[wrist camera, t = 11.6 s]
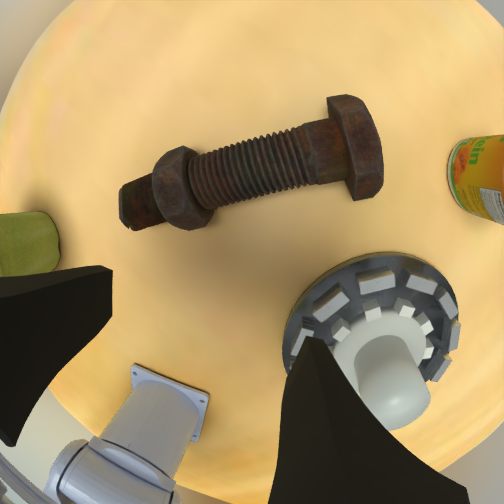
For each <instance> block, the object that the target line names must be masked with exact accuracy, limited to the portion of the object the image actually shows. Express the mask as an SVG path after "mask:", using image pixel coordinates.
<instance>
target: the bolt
mask: <svg viewBox="0 0 504 504" xmlns="http://www.w3.org/2000/svg"><path fill="white" fill-rule="evenodd" d="M326 99H327V106H328V114H329V118H327V119H322V120H317V121H313V122H308V123H304V124H303V125H302V126H298V127H297V128H296V129H295V128H294V127H293V128H292V129H291V131H289V130H288V129H286V130H285V132H284V133H283V132H282V131H279V133H278V135H277V134H276V133H275V132H273V134H272V137H271V136H270V135H269V134H267V136H266V138H264V137H263V136H262V135H261V136H260V138H259V140H258V139H257V138H256V137H254V139H253V141H252V140H251V139H248V140H247V142H245V141H244V140H243V141H242V142H241V144H240V143H239V142H237V143H236V145H233V144H231V145H230V147H228V146H225V147H224V149H223V148H219V149H218V151H217V150H213V152H208V153H207V154H205V153H204V154H202V155H199V154H198V153H197V152H195V151H194V150H192V149H190V148H188V147H185V146H181V147H178V148H175V149H173V150H170V151H168V152H167V153H165V154H164V155H163V156H162V157H161V158H160V159H159V160H158V162H157V163H156V165H155V167H154V169H153V173H150V174H148V175H146V176H143V177H141V178H139V179H136V180H134V181H132V182H129V183H127V184H124V185H123V186H122V188H121V189H120V190H119V219H120V220H121V222H122V223H123V224H124V225H125V226H126V227H127V228H128V229H129V227H130V228H131V229H132V230H133V231H139V230H142V229H145V228H147V227H151V226H154V225H158V224H160V223H164V222H167V221H168V222H169V223H170V224H171V225H173V226H175V227H178V228H180V229H184V230H188V231H190V230H194V229H198V228H202V227H205V226H206V225H207V224H208V222H209V221H210V219H211V218H212V216H213V214H214V210H215V208H217V207H218V206H220V207H222V206H223V205H228V204H229V203H231V204H233V203H235V201H236V202H240V201H241V200H243V201H245V200H246V199H251V198H252V197H254V198H257V197H258V195H260V196H263V195H264V193H265V194H270V191H271V192H272V193H275V192H276V190H278V191H279V192H281V191H282V188H283V189H284V190H288V187H289V188H291V189H294V185H295V186H296V187H297V188H299V187H300V184H302V185H303V186H306V183H308V184H309V185H313V184H319V185H321V184H326V183H331V182H336V181H341V180H345V182H346V185H347V187H348V189H349V192H350V194H351V196H352V199H353V201H358V200H363V199H368V198H373V197H374V196H375V195H376V194H377V193H378V192H379V191H380V189H381V188H382V186H383V182H384V164H383V154H382V146H381V141H380V137H379V135H378V132H377V129H376V127H375V124H374V122H373V119H372V117H371V115H370V113H369V111H368V109H367V107H366V106H365V104H364V102H363V101H362V100H361V99H359V98H357V97H355V96H352V95H347V94H344V95H337V96H331V97H327V98H326Z"/></svg>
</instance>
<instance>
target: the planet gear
mask: <svg viewBox="0 0 504 504" xmlns="http://www.w3.org/2000/svg"><path fill="white" fill-rule="evenodd" d="M361 304H362V309H363V313H361V314H360V315H358V316H356V317H355V318H353V319H352V320H351V321H349V322H348V321H346V320H345V319H343V318H342V317H340V318H339V319H338V320H337V321H336V322H335V324H334V325H333V326H332V327H331V330H332V337H333V338H335V341H334V343H333V346H328V348H329V350H330V351H331V353H332V355H333V356H334V358H335V360H336V361H337V363H338V365H339V366H340V368H341V370H342V371H343V373H344V374H345V376H346V378H347V379H348V381H349V382H350V384H351V385H352V387H353V388H354V390H355V391H356V393H357V394H358V395H359V397H360V398H361V399H362V401H363V402H364V403H365V405H366V406H367V407H368V409H369V410H370V411H371V412H372V414H373V415H374V416H375V417H376V418H377V419H378V420H379V422H380V423H381V424H382V425H383V426H384V427H385V428H386V429H387V430H388V431H391V430H395V429H399V428H401V427H404V426H406V425H408V424H410V423H411V422H413V421H414V420H416V419H417V418H418V417H419V416H421V415H422V414H423V412H424V411H425V410H426V409H427V407H428V405H429V403H430V399H431V396H430V392H429V390H428V388H427V386H426V383H425V381H424V379H423V377H422V375H421V373H420V371H419V369H418V366H419V364H420V363H421V361H422V359H427V358H431V355H432V352H433V349H434V346H433V344H432V343H431V341H430V340H429V338H426V336H425V335H427V334H428V333H430V332H431V331H432V330H434V329H433V327H432V325H431V322H430V320H429V319H428V318H427V316H426V315H425V314H424V312H422V313H421V314H419V315H418V316H417V317H414V316H413V313H414V311H415V307H414V306H413V305H412V303H411V302H410V301H409V300H406V299H402V298H399V297H398V298H397V300H396V302H395V304H394V306H393V307H380V306H379V304H378V302H377V301H376V299H372V300H369V301H366V302H363V303H361Z"/></svg>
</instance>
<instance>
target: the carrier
mask: <svg viewBox="0 0 504 504" xmlns="http://www.w3.org/2000/svg"><path fill="white" fill-rule="evenodd" d="M398 297H399V298H402V299H406V300H409V301H410V302H411V303H412V305H413V306H414V307H415V311H414V313H413V316H414V317H417V316H418V315H419V314H421V313H422V312H424V314H425V315H426V316H427V318H428V319H429V320H430V322H431V325H432V327H433V329H434V330H432V331H431V332H430V333H428V334H427V335H425V336H426V338H429V340H430V341H431V343H432V344H433V346H434V349H433V352H432V355H431V358H427V359H422V361H421V363H420V364H419V366H418V369H419V371H420V373H421V375H422V377H423V379H424V381H425V382H427V381H428V380H429V379H430V381H434V382H438V380H439V379H440V378H441V376H442V375H443V373H444V372H445V371H446V369H447V368H448V366H449V365H450V363H451V362H452V359H451V358H450V356H449V355H448V354H449V352H450V351H452V350H454V349H457V347H458V340H459V334H460V326H461V324H460V323H459V322H458V313H459V312H458V305H457V301H456V297H455V294H454V292H453V290H452V287H451V286H450V284H449V283H448V281H447V280H446V278H445V277H444V276H443V275H442V274H441V273H440V272H439V271H438V270H436V269H435V268H434V267H433V266H431V265H430V264H428V263H427V262H425V261H424V260H422V259H420V258H417V257H415V256H412V255H409V254H405V253H399V252H377V253H371V254H365V255H362V256H359V257H355V258H352V259H350V260H348V261H345V262H343V263H341V264H339V265H337V266H335V267H334V268H332V269H330V270H329V271H327V272H326V273H325V274H323V275H322V276H321V277H319V278H318V279H317V280H316V281H315V282H313V283H312V284H311V285H310V286H309V287H308V288H307V289H306V291H305V292H304V293H303V294H302V295H301V297H300V298H299V299H298V301H297V303H296V304H295V306H294V307H293V309H292V311H291V313H290V315H289V318H288V320H287V324H286V327H285V331H284V338H283V346H282V355H283V362H284V367H285V370H286V373H287V375H288V374H289V372H290V370H291V367H292V365H293V363H294V361H295V359H296V357H297V354H298V352H299V350H300V348H301V346H302V343H303V341H304V339H305V336H306V335H307V336H311V337H315V338H319V339H323V340H324V342H325V343H326V345H327V346H333V343H334V341H335V338H333V337H332V330H331V327H332V326H333V325H334V324H335V322H336V321H337V320H338V319H339V318H340V317H342V318H343V319H345V320H346V321H348V322H349V321H351V320H352V319H353V318H355V317H356V316H358V315H360V314H361V313H363V309H362V304H361V303H363V302H366V301H369V300H372V299H376V301H377V302H378V304H379V306H380V307H393V306H394V304H395V302H396V300H397V298H398Z"/></svg>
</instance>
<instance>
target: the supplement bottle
mask: <svg viewBox="0 0 504 504" xmlns="http://www.w3.org/2000/svg"><path fill="white" fill-rule="evenodd" d="M448 181H449V186H450V189H451V192H452V194H453V196H454V198H455V200H456V201H457V203H458V204H459V205H460V206H461V207H462V208H463V209H464V210H466V211H467V212H469V213H471V214H474V215H477V216H480V217H482V218H485V219H488V220H491V221H494V222H497V223H499V224H502V225H504V135H494V136H485V137H475V138H469V139H465V140H462V141H461V142H459V143H458V144H457V145H456V146H455V147H454V149H453V151H452V153H451V155H450V158H449V162H448Z"/></svg>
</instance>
